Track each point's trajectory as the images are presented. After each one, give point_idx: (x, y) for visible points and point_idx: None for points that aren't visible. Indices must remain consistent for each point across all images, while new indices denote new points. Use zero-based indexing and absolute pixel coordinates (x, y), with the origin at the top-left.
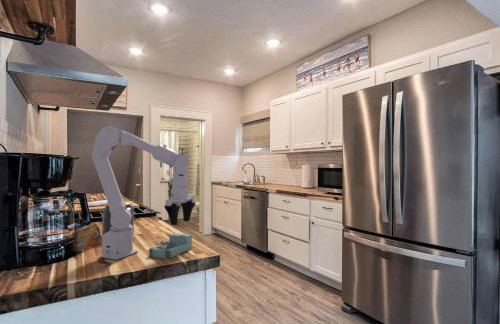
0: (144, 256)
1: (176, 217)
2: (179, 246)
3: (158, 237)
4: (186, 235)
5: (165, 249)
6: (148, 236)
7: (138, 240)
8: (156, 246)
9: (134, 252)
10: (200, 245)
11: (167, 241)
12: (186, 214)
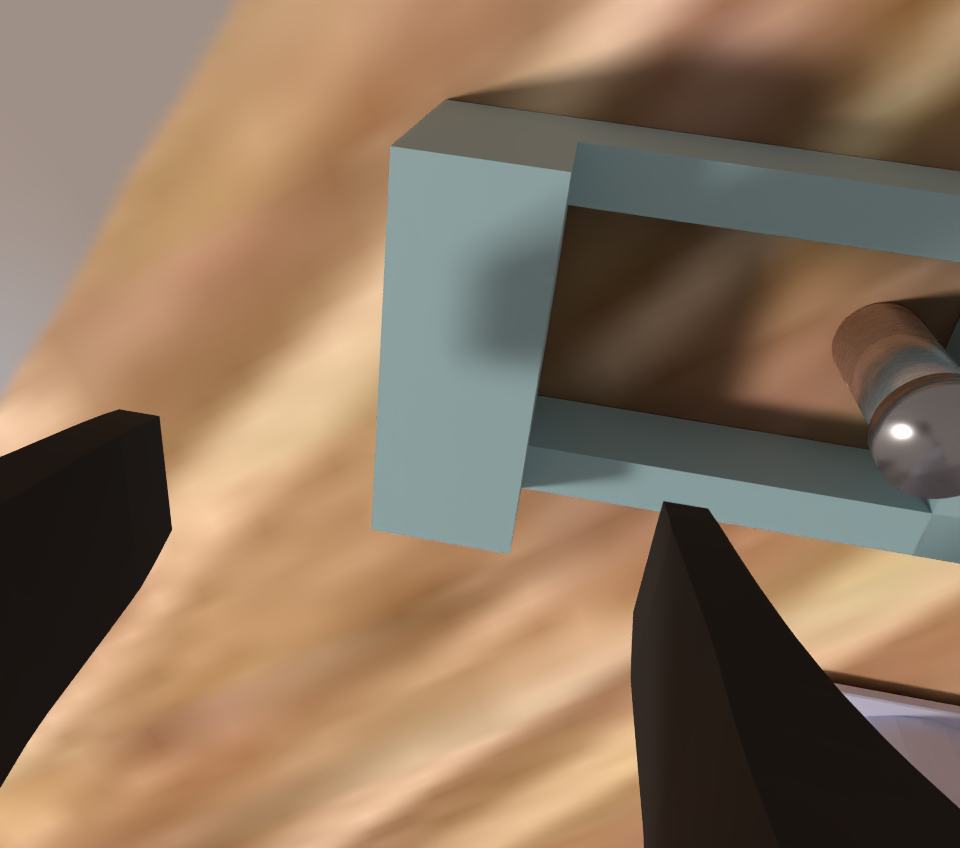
0: None
1: (770, 631)
2: (802, 178)
3: (162, 735)
4: (475, 234)
5: (937, 347)
6: (179, 824)
7: (349, 841)
8: (838, 527)
9: (856, 694)
10: (235, 37)
11: (931, 394)
12: (50, 587)
